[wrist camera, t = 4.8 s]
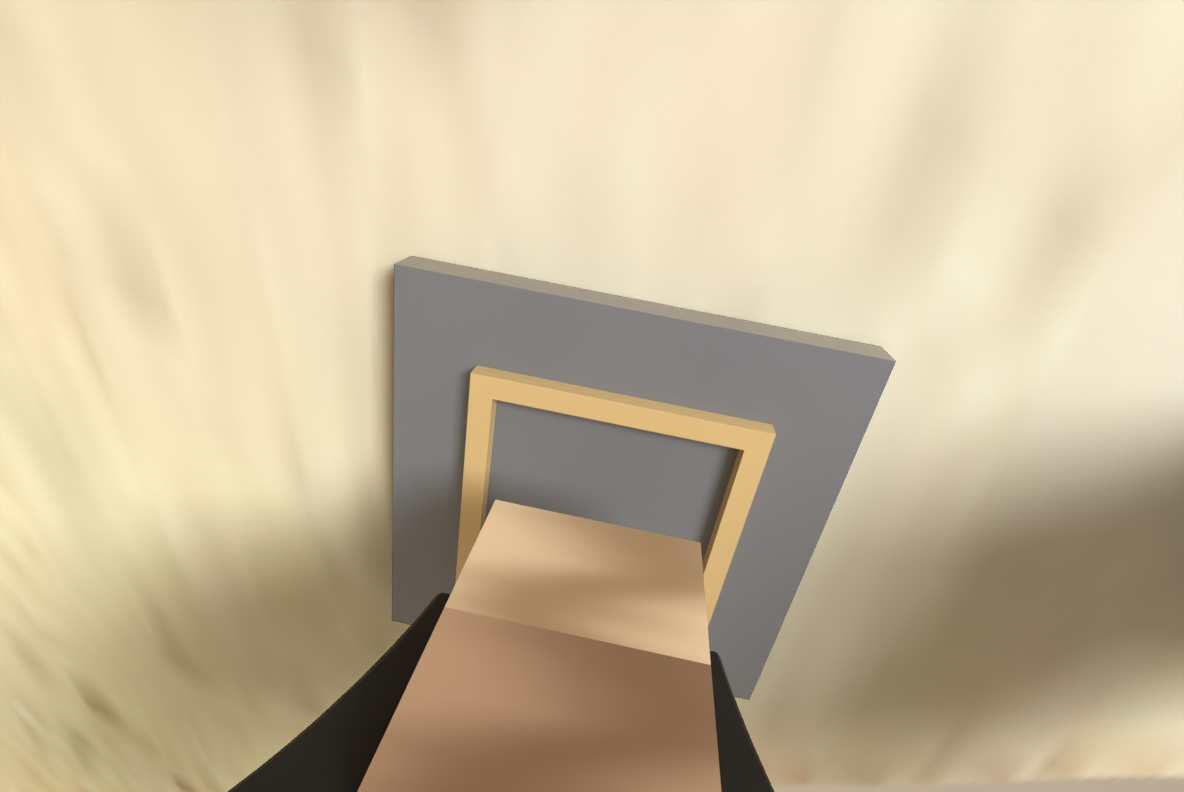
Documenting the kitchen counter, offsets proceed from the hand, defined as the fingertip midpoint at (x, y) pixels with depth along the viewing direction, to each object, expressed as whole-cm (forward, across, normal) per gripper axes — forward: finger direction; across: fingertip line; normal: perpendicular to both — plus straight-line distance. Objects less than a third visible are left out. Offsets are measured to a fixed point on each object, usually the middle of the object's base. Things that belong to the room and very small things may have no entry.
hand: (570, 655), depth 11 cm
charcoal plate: (+6, 0, 0) cm, 6 cm away
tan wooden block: (+1, 0, 0) cm, 1 cm away
